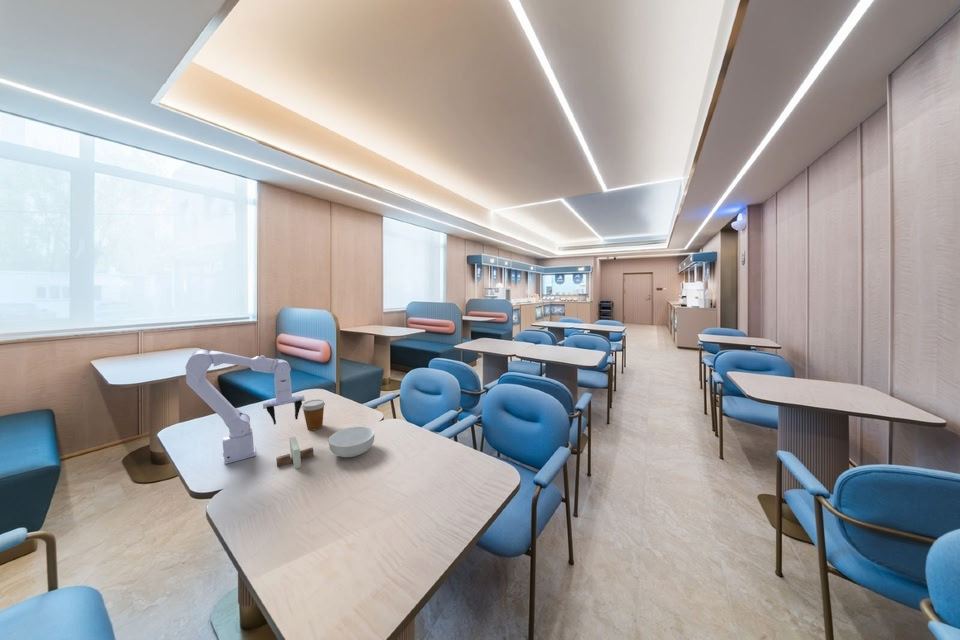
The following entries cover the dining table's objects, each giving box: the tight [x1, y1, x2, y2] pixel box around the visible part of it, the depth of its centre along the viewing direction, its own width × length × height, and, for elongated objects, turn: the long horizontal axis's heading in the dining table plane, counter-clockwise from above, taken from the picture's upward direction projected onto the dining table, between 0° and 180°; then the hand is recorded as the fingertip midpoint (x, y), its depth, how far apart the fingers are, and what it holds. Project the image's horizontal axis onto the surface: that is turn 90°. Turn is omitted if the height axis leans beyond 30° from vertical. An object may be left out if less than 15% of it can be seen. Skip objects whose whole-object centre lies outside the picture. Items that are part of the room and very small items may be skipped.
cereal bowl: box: [328, 426, 375, 458], centre depth 124 cm, size 17×17×7 cm
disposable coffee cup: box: [301, 398, 326, 431], centre depth 146 cm, size 10×10×12 cm
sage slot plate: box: [289, 436, 302, 470], centre depth 119 cm, size 12×2×7 cm, turn 37°
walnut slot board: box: [275, 447, 315, 468], centre depth 119 cm, size 12×2×3 cm, turn 127°
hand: (285, 421), depth 131 cm, fingers open, 7 cm apart
